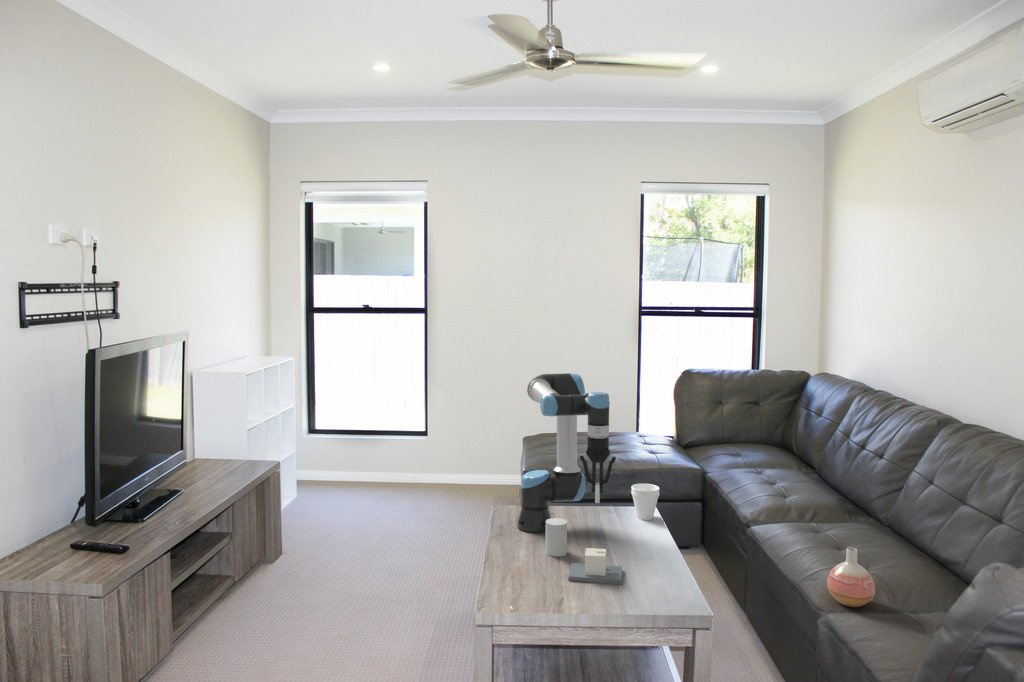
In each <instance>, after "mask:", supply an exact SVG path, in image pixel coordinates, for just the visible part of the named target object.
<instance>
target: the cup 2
mask: <svg viewBox="0 0 1024 682" xmlns="http://www.w3.org/2000/svg"><path fill="white" fill-rule="evenodd" d="M630 494H631V496H632V499H633V500H632V501H633V504H634V509H635V510H634V511H635V514H636V517H637V519H638V518H639V519H638V520H641V519H642V521H651V520H653V519H654V517H655V516H654V514H655V512H656V507H657V503H658V499H659V496H660V487H659V486H658V485H655V484H651V483H635V484H632V485H631V493H630Z"/></svg>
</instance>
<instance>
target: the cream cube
mask: <svg viewBox="0 0 1024 682" xmlns="http://www.w3.org/2000/svg"><path fill="white" fill-rule="evenodd" d="M584 564H585V575H599V576H605V574H606V565H607V549H606V548H594V547H592V548H591V547H590V548H589V547H586V548H585V551H584Z"/></svg>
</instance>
